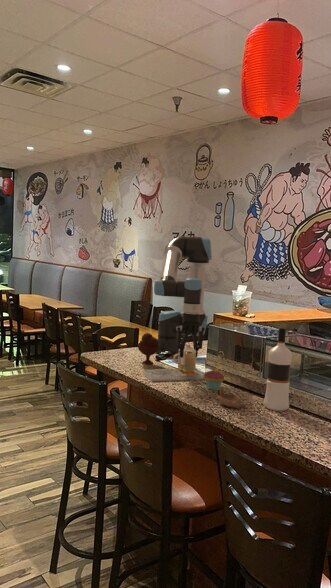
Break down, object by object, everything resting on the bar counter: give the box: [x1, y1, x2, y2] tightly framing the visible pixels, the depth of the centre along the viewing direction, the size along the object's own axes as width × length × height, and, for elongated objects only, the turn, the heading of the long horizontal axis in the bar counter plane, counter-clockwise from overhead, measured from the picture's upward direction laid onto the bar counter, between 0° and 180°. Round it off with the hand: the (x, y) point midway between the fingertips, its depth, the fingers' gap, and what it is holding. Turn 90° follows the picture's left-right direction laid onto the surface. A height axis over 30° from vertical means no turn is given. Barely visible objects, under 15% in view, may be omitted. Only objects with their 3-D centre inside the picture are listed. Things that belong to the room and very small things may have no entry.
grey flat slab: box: [142, 367, 205, 382], centre depth 208 cm, size 12×25×2 cm, turn 110°
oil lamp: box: [216, 387, 243, 409], centre depth 173 cm, size 13×8×5 cm, turn 29°
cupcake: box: [203, 359, 225, 390], centre depth 194 cm, size 9×8×12 cm
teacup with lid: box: [172, 343, 197, 369], centre depth 225 cm, size 12×9×12 cm
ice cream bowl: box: [137, 332, 160, 366], centre depth 230 cm, size 11×11×15 cm
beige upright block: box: [181, 351, 195, 373], centre depth 210 cm, size 4×4×9 cm
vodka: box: [263, 327, 293, 412], centre depth 172 cm, size 9×9×30 cm
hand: (187, 364), depth 210 cm, fingers closed on beige upright block, 4 cm apart
